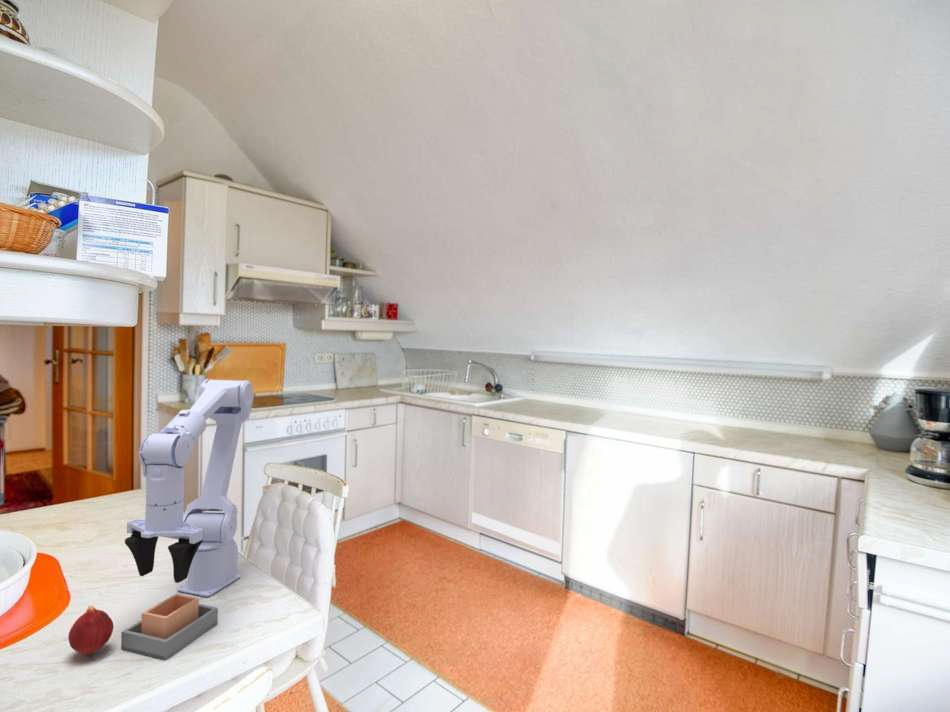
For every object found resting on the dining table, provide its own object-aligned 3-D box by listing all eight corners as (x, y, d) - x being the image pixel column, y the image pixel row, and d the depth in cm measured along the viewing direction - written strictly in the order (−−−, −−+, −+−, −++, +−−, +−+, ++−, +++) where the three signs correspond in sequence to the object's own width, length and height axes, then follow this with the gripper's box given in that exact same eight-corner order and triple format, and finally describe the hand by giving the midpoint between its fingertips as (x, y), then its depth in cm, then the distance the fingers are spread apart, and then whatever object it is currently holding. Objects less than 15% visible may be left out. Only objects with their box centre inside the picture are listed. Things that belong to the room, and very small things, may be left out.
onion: (120, 643, 85) (121, 597, 85) (96, 665, 80) (97, 615, 79) (85, 643, 85) (86, 596, 85) (58, 665, 79) (59, 615, 79)
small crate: (175, 620, 92) (176, 593, 92) (198, 625, 90) (198, 598, 90) (141, 642, 85) (141, 613, 85) (165, 648, 84) (165, 618, 84)
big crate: (177, 615, 95) (177, 599, 95) (217, 624, 92) (217, 607, 92) (121, 649, 84) (121, 631, 84) (165, 660, 81) (165, 642, 81)
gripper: (111, 503, 87) (109, 580, 87) (180, 513, 83) (178, 594, 83) (147, 491, 93) (145, 563, 94) (212, 500, 90) (210, 575, 90)
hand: (163, 576), depth 89 cm, fingers open, 7 cm apart
